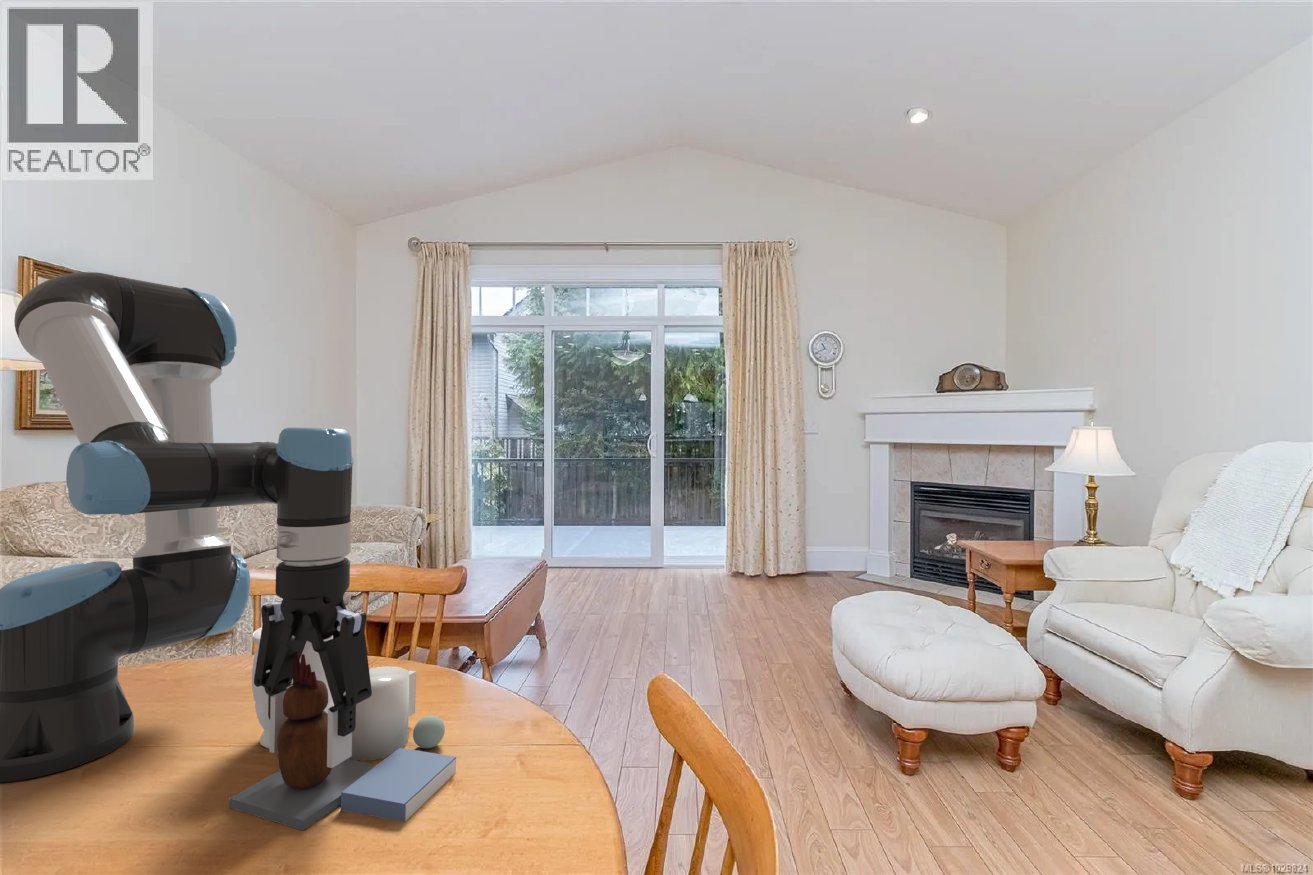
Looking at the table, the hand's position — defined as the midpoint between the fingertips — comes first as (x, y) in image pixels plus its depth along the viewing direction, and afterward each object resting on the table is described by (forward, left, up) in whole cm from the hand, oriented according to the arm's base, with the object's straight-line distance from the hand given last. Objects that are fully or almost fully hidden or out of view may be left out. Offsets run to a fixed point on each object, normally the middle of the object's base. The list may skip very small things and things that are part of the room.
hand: (310, 753), depth 70 cm
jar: (-13, +9, -4) cm, 16 cm away
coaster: (0, 0, -4) cm, 4 cm away
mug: (-1, +12, -4) cm, 13 cm away
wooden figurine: (0, 0, -3) cm, 3 cm away
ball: (+6, +13, -4) cm, 15 cm away
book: (+10, +4, -5) cm, 11 cm away
